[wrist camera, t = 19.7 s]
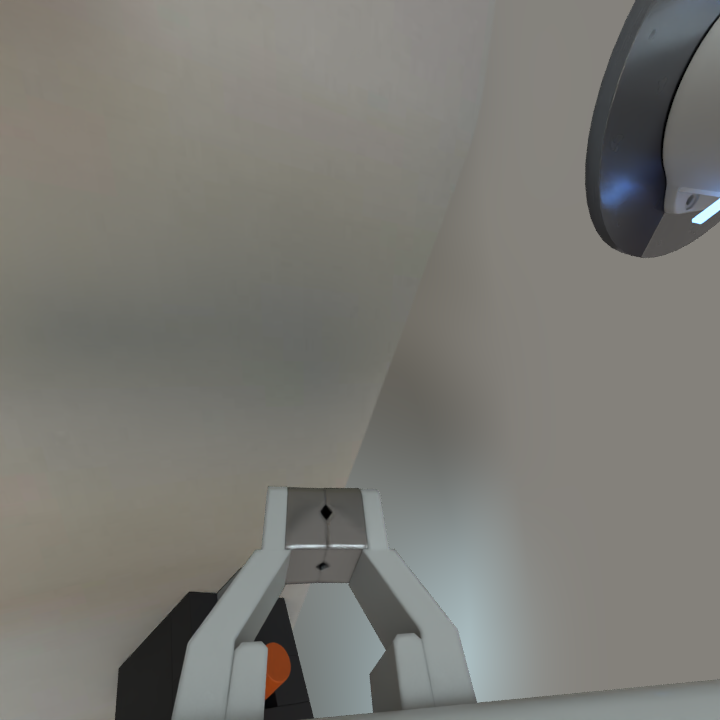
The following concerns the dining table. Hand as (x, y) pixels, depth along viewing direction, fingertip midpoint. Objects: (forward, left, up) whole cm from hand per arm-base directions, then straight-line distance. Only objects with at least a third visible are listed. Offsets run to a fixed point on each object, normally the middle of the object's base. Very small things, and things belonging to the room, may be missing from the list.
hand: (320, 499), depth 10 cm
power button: (-2, +33, -10) cm, 35 cm away
